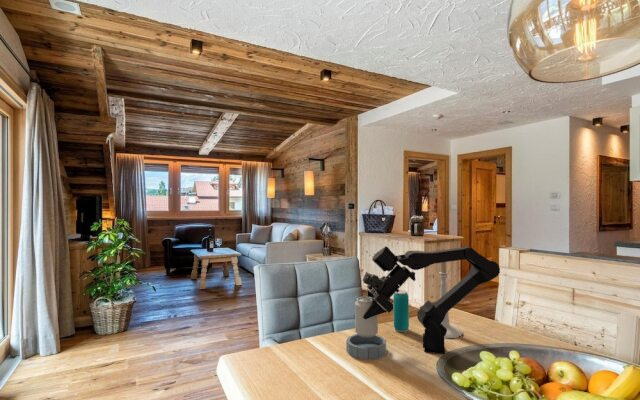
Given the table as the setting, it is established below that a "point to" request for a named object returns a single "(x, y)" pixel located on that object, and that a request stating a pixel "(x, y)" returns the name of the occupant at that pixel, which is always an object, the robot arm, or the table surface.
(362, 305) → the can
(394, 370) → the table surface
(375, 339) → the bowl
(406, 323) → the beverage can
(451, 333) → the candlestick
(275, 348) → the table surface
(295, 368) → the table surface
